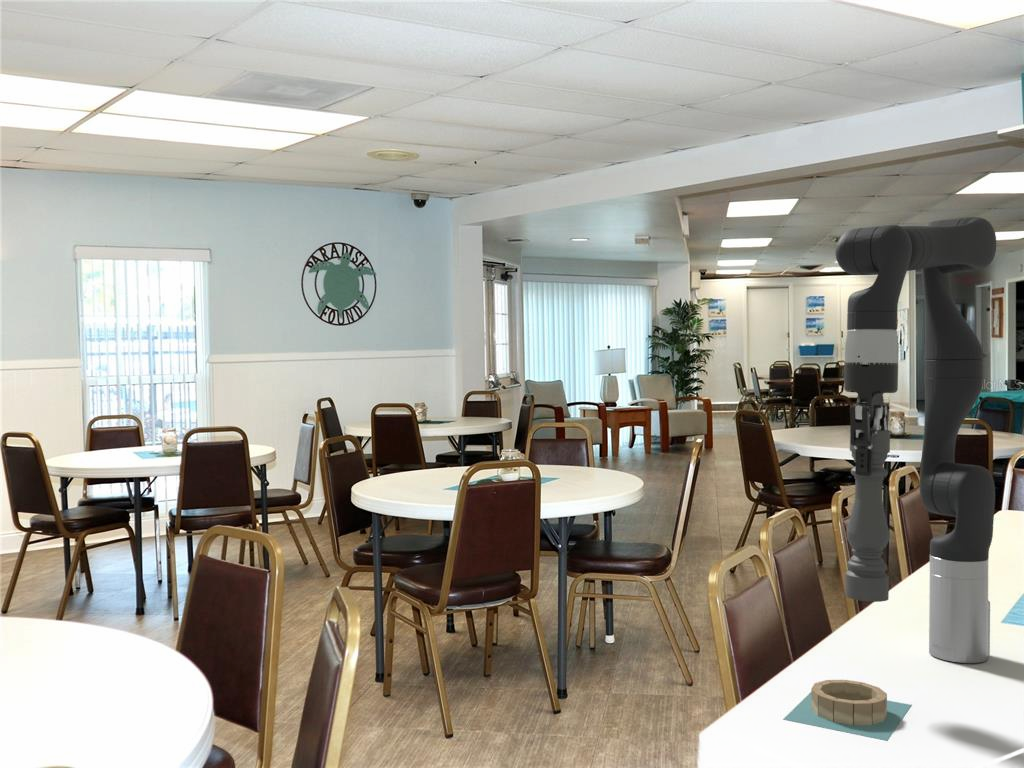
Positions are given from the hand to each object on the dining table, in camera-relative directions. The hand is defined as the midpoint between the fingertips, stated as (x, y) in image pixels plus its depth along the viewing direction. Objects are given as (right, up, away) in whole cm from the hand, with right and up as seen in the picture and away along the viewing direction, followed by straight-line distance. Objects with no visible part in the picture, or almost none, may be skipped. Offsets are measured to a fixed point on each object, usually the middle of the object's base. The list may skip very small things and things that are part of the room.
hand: (868, 473), depth 144 cm
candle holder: (0, -19, 0) cm, 19 cm away
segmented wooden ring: (-5, -34, -5) cm, 35 cm away
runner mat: (-5, -34, -5) cm, 35 cm away
